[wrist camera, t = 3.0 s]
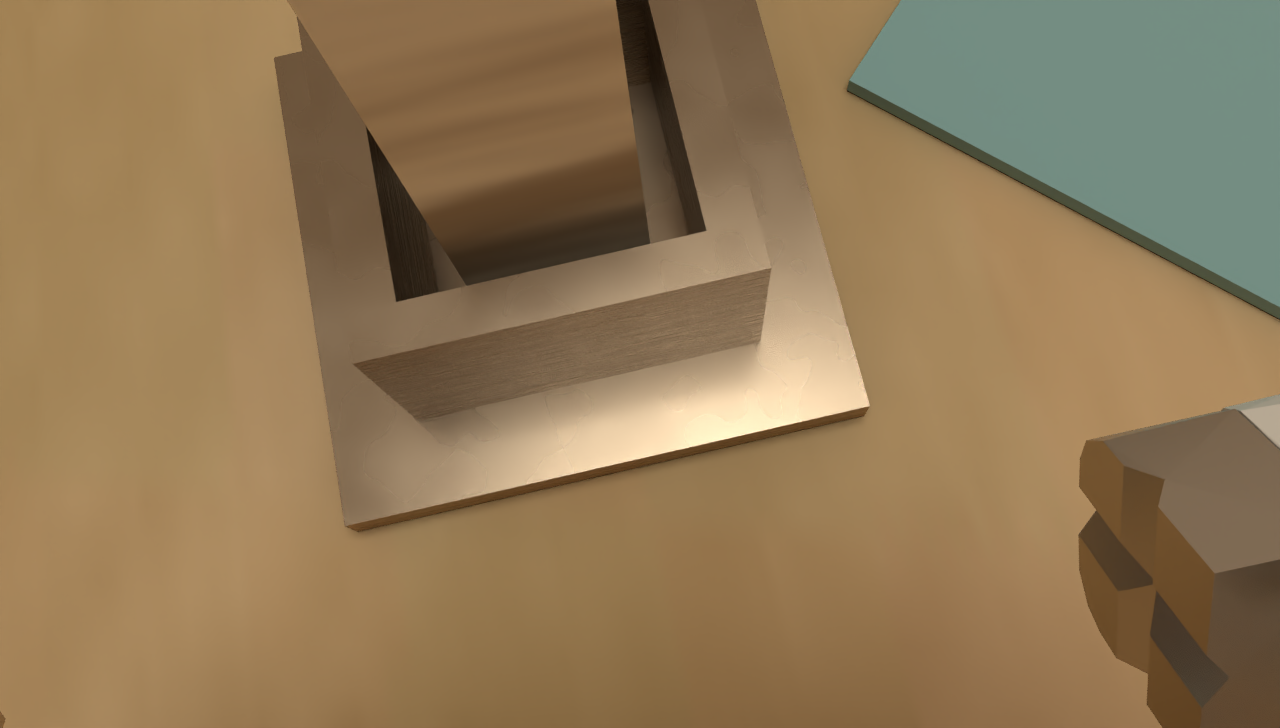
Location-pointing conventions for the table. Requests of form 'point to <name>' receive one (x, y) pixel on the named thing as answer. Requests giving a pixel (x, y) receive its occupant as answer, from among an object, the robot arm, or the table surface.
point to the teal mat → (1110, 115)
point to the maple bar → (496, 122)
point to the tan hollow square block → (574, 292)
